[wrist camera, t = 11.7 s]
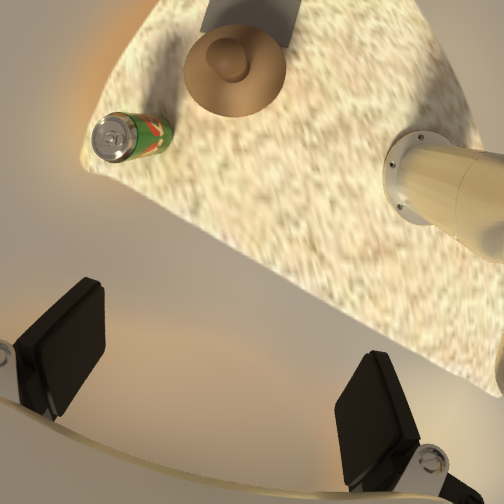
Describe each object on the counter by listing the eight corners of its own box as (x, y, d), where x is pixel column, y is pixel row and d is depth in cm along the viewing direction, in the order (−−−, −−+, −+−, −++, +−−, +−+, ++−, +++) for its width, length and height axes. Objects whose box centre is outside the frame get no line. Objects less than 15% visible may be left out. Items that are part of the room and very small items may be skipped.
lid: (295, 39, 27) (300, 15, 20) (272, 127, 31) (271, 125, 24) (200, 22, 27) (183, -2, 20) (177, 107, 30) (152, 102, 24)
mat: (306, -20, 27) (307, -22, 27) (288, 47, 31) (288, 46, 31) (223, -34, 27) (222, -35, 27) (200, 32, 31) (199, 30, 31)
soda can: (142, 113, 36) (93, 109, 24) (177, 119, 36) (138, 114, 24) (134, 150, 37) (84, 160, 26) (169, 157, 38) (128, 168, 26)
